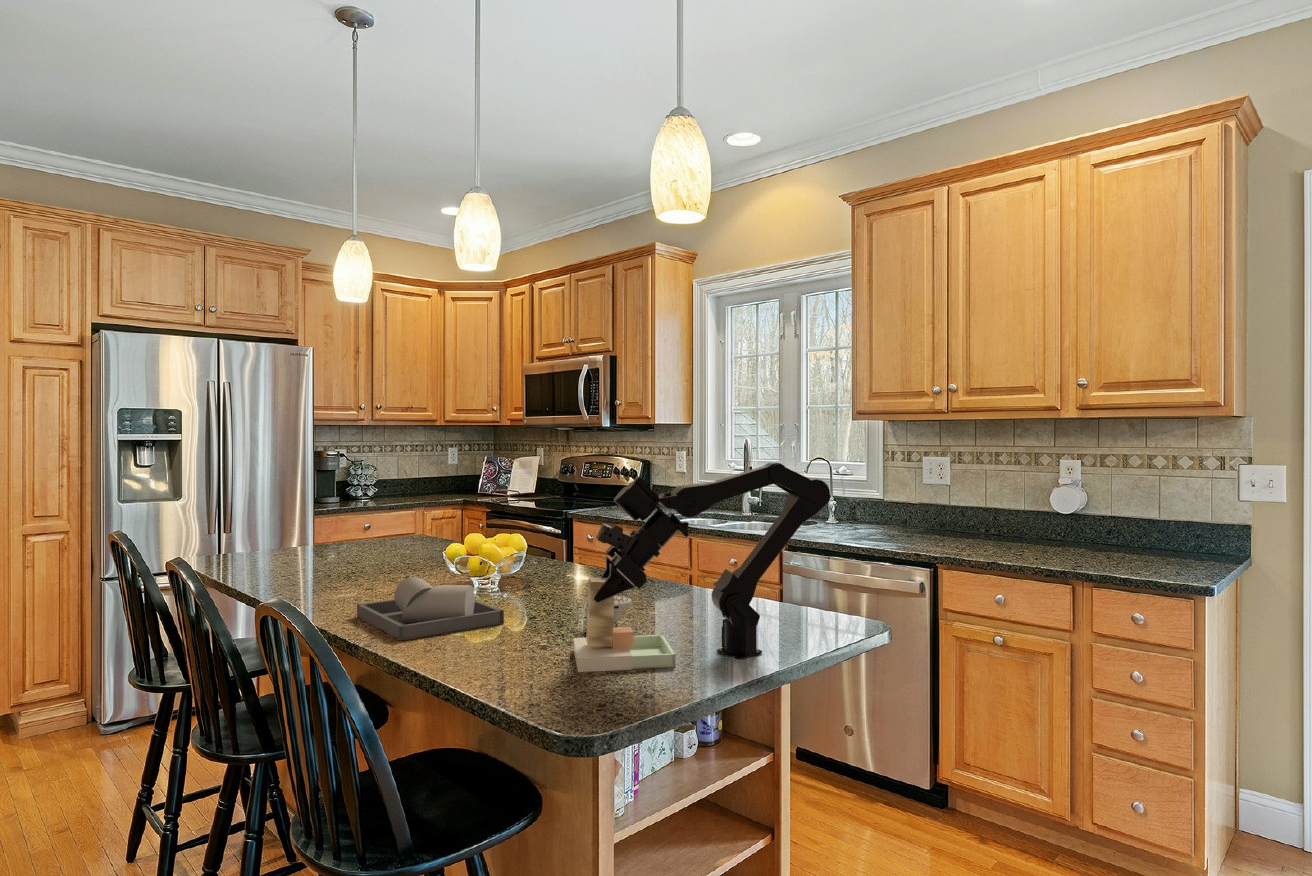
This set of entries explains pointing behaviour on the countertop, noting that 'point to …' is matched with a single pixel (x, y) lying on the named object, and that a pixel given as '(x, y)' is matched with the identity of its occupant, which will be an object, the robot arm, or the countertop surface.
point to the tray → (652, 653)
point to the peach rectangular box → (622, 638)
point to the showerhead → (620, 607)
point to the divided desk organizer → (390, 614)
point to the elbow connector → (432, 600)
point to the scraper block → (599, 616)
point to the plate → (600, 657)
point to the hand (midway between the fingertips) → (594, 597)
